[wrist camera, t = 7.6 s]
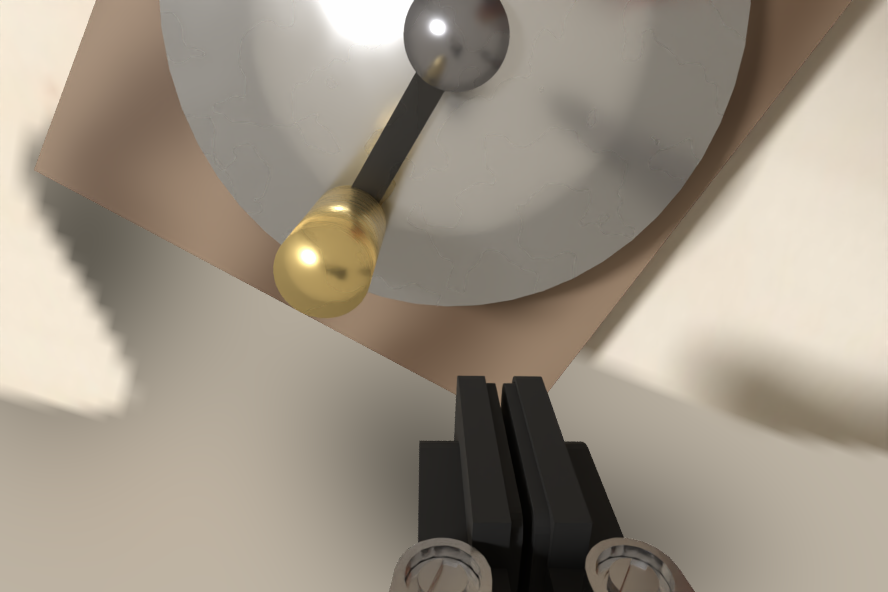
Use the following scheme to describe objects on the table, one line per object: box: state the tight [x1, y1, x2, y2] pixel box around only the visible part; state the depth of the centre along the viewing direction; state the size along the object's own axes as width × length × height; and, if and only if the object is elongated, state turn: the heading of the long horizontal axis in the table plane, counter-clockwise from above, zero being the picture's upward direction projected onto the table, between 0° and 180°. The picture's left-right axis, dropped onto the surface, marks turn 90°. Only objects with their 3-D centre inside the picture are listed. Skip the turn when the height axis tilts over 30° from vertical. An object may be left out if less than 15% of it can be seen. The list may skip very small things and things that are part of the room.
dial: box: [159, 0, 751, 318], centre depth 16 cm, size 17×17×6 cm
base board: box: [34, 0, 852, 407], centre depth 20 cm, size 20×22×2 cm
